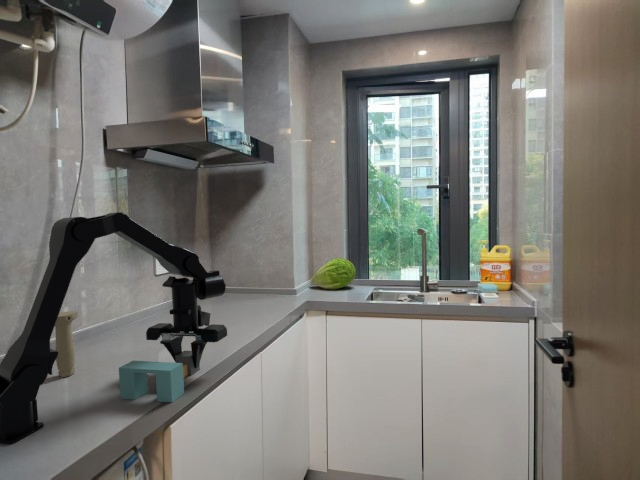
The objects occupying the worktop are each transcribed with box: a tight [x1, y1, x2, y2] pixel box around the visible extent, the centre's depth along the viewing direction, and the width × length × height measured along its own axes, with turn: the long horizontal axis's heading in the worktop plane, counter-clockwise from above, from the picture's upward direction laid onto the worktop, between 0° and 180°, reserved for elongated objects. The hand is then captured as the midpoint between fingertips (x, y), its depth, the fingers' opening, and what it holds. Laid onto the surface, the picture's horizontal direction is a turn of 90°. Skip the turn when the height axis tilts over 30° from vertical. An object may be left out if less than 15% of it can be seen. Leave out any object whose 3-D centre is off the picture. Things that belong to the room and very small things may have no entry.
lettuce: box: [310, 257, 357, 290], centre depth 218 cm, size 15×25×16 cm
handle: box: [54, 310, 79, 378], centre depth 104 cm, size 5×6×15 cm
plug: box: [174, 350, 201, 379], centre depth 99 cm, size 14×4×4 cm, turn 167°
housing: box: [118, 360, 185, 403], centre depth 89 cm, size 4×12×6 cm, turn 77°
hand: (188, 367), depth 103 cm, fingers closed on plug, 4 cm apart
